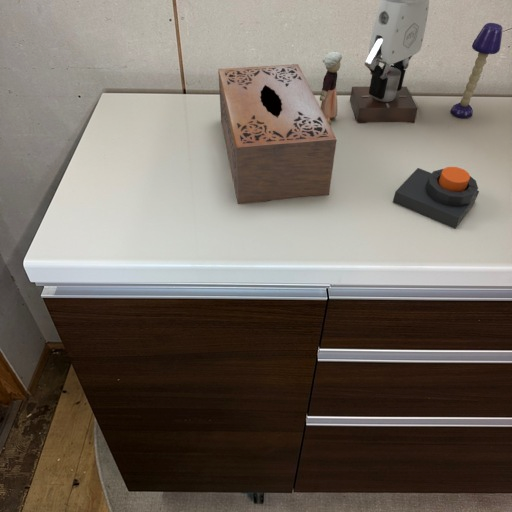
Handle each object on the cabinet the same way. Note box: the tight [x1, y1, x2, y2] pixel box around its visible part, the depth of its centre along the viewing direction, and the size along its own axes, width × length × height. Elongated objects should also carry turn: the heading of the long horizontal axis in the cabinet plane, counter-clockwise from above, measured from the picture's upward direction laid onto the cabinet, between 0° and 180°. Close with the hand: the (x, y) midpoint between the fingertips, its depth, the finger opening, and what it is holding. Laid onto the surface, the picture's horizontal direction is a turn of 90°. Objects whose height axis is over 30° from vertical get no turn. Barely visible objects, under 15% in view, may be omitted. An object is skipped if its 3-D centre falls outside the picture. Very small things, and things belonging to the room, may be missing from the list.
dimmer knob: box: [373, 66, 401, 102], centre depth 89 cm, size 4×4×5 cm
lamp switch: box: [439, 166, 471, 192], centre depth 70 cm, size 4×4×2 cm
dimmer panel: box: [349, 86, 419, 124], centre depth 92 cm, size 11×9×3 cm
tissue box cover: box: [217, 63, 338, 205], centre depth 79 cm, size 26×14×10 cm, turn 9°
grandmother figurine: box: [319, 51, 343, 125], centre depth 87 cm, size 8×4×13 cm, turn 168°
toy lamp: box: [449, 22, 503, 120], centre depth 87 cm, size 5×5×17 cm
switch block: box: [392, 167, 480, 230], centre depth 72 cm, size 10×8×4 cm
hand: (385, 91), depth 91 cm, fingers closed on dimmer knob, 4 cm apart
